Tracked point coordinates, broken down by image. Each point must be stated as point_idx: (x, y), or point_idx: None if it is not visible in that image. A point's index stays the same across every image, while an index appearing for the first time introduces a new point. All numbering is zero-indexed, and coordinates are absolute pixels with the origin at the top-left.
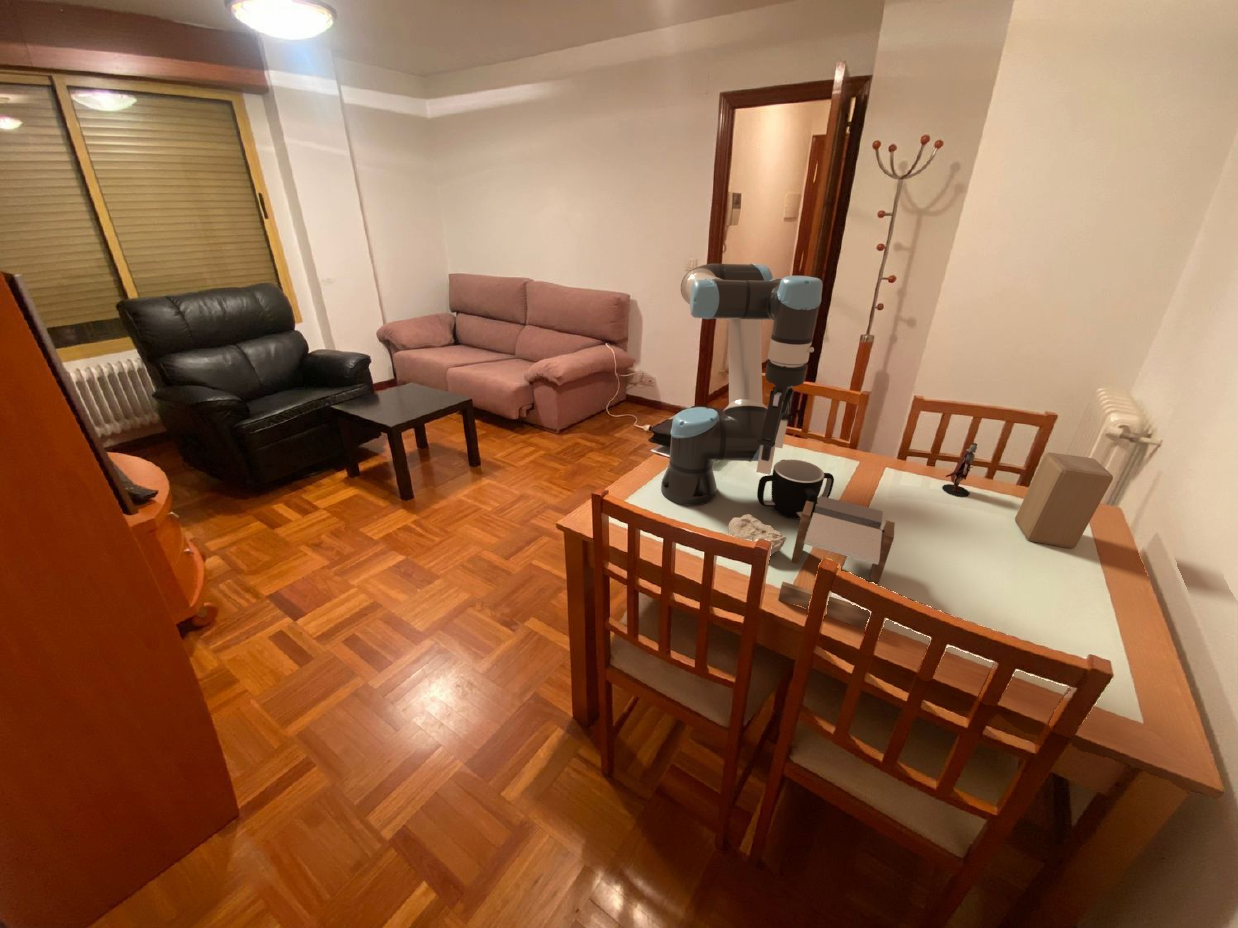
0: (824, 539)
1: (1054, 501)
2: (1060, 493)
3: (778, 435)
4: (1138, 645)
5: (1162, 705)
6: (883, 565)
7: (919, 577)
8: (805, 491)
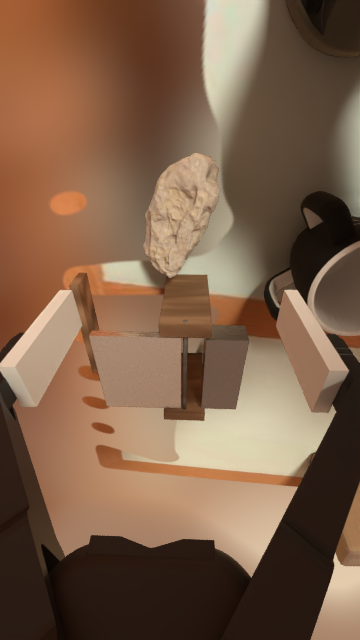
0: (109, 357)
1: None
2: None
3: (293, 340)
4: (195, 471)
5: (144, 467)
6: None
7: None
8: None
